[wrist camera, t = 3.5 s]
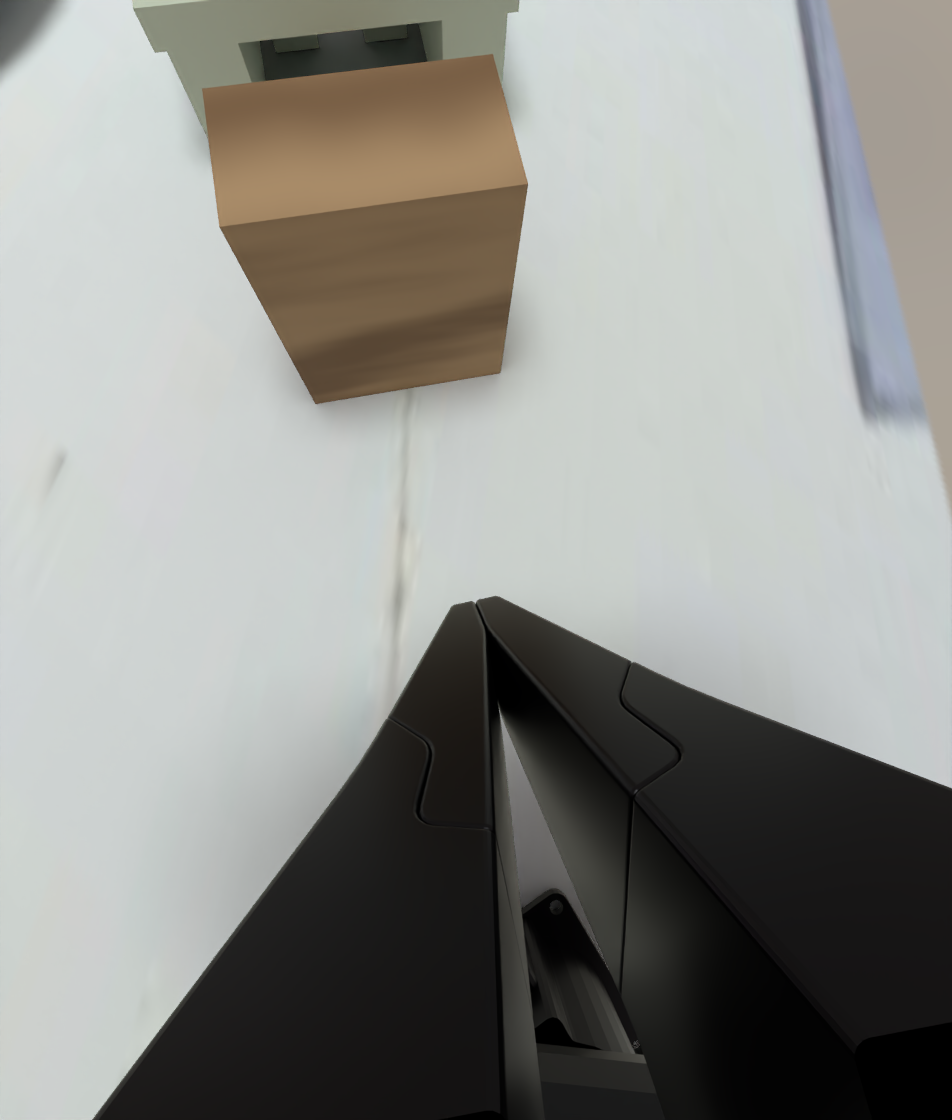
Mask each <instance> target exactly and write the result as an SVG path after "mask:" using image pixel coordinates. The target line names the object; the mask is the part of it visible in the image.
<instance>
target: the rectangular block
mask: <svg viewBox="0 0 952 1120" xmlns="http://www.w3.org/2000/svg"><path fill="white" fill-rule="evenodd" d="M202 92H203V100H204V108H205V116H206V124H207V132H208V140H209V148H210V156H211V164H212V171H213V179H214V187H215V195H216V203H217V211H218V219H219V227H220V229H221V231H222V232H223V234H224V236H225V238H226V240H227V242H228V243H229V245H230V247H231V249H232V251H233V253H234V255H235V256H236V258H237V260H238V262H239V264H240V266H241V267H242V269H243V271H244V273H245V275H246V277H247V278H248V280H249V282H250V284H251V286H252V288H253V290H254V291H255V293H256V295H257V297H258V299H259V301H260V302H261V304H262V306H263V308H264V310H265V312H266V313H267V315H268V317H269V319H270V321H271V323H272V325H273V326H274V328H275V330H276V332H277V334H278V336H279V337H280V339H281V341H282V343H283V345H284V347H285V349H286V350H287V352H288V354H289V356H290V358H291V360H292V361H293V363H294V365H295V367H296V369H297V371H298V372H299V374H300V376H301V378H302V380H303V382H304V384H305V385H306V387H307V389H308V391H309V393H310V395H311V396H312V398H313V400H314V402H315V404H318V403H324V402H330V401H336V400H342V399H348V398H354V397H360V396H366V395H372V394H378V393H384V392H390V391H396V390H402V389H408V388H414V387H420V386H426V385H432V384H438V383H444V382H450V381H456V380H462V379H468V378H474V377H480V376H486V375H492V374H498V373H500V371H501V365H502V358H503V351H504V344H505V337H506V330H507V324H508V317H509V310H510V303H511V296H512V289H513V283H514V276H515V269H516V262H517V255H518V249H519V242H520V235H521V228H522V221H523V214H524V208H525V201H526V194H527V187H528V182H527V178H526V175H525V171H524V167H523V164H522V160H521V156H520V153H519V149H518V145H517V141H516V138H515V134H514V130H513V127H512V123H511V119H510V115H509V112H508V108H507V104H506V101H505V97H504V93H503V90H502V86H501V82H500V78H499V75H498V71H497V67H496V64H495V60H494V56H493V54H488V55H480V56H471V57H463V58H455V59H446V60H438V61H429V62H421V63H413V64H404V65H396V66H387V67H379V68H371V69H362V70H354V71H345V72H337V73H329V74H320V75H312V76H303V77H295V78H287V79H278V80H270V81H261V82H253V83H245V84H236V85H228V86H219V87H211V88H203V89H202Z"/></svg>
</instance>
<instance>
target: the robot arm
mask: <svg viewBox="0 0 952 1120" xmlns="http://www.w3.org/2000/svg"><path fill="white" fill-rule="evenodd" d="M498 706H499V707H498ZM499 710H500V713H501V716H502V718H503V721H504V724H505V726H506V728H507V731H508V733H509V735H510V738H511V740H512V742H513V745H514V747H515V750H516V752H517V754H518V757H519V759H520V761H521V764H522V766H523V768H524V771H525V773H526V775H527V778H528V780H529V782H530V785H531V787H532V789H533V792H534V794H535V797H536V799H537V801H538V804H539V806H540V808H541V811H542V813H543V815H544V818H545V820H546V822H547V825H548V827H549V829H550V832H551V834H552V836H553V839H554V841H555V844H556V846H557V848H558V851H559V853H560V855H561V858H562V860H563V862H564V865H565V867H566V869H567V872H568V874H569V876H570V879H571V881H572V883H573V886H574V888H575V890H576V893H577V895H578V898H579V900H580V902H581V905H582V907H583V909H584V912H585V914H586V916H587V919H588V921H589V923H590V926H591V928H592V930H593V933H594V935H595V937H596V940H597V942H598V945H599V947H600V949H601V952H602V954H603V956H604V959H605V961H606V963H607V966H608V967H607V966H606V964H605V962H604V961H603V959H602V957H601V955H600V954H599V952H598V950H597V949H596V947H595V945H594V944H593V942H592V940H591V938H590V937H589V935H588V933H587V932H586V930H585V928H584V927H583V925H582V923H581V921H580V920H579V918H578V916H577V915H576V913H575V911H574V910H573V908H572V906H571V904H570V903H569V901H568V899H567V898H566V896H565V894H564V893H563V892H562V891H560V890H558V889H550V890H548V891H547V892H545V893H544V894H542V895H541V896H540V897H538V898H537V899H535V900H534V901H533V902H531V903H530V904H528V905H527V906H526V907H524V908H523V909H521V901H520V892H519V883H518V874H517V865H516V856H515V846H514V837H513V828H512V819H511V810H510V800H509V791H508V782H507V773H506V764H505V754H504V745H503V736H502V727H501V720H500V713H499ZM554 900H558V901H560V902H561V906H560V907H559V909H557V910H552V909H551V908H550V904H551V903H552V901H554ZM608 968H609V969H608ZM609 970H610V971H609ZM637 1040H638V1041H639V1044H640V1046H639V1047H638V1048H636V1049H635V1048H632V1044H633V1043H634V1041H637ZM92 1120H952V788H949V787H947V786H944V785H941V784H939V783H936V782H933V781H931V780H928V779H926V778H923V777H920V776H918V775H915V774H913V773H910V772H907V771H905V770H902V769H899V768H897V767H894V766H892V765H889V764H886V763H884V762H881V761H879V760H876V759H873V758H871V757H868V756H865V755H863V754H860V753H858V752H855V751H852V750H850V749H847V748H845V747H842V746H839V745H837V744H834V743H831V742H829V741H826V740H824V739H821V738H818V737H816V736H813V735H810V734H808V733H805V732H803V731H800V730H797V729H795V728H792V727H790V726H787V725H784V724H782V723H779V722H776V721H774V720H771V719H769V718H766V717H763V716H761V715H758V714H756V713H753V712H750V711H748V710H745V709H742V708H740V707H737V706H735V705H732V704H729V703H727V702H724V701H722V700H719V699H717V698H714V697H712V696H709V695H707V694H704V693H702V692H699V691H697V690H695V689H692V688H690V687H687V686H685V685H683V684H680V683H678V682H676V681H674V680H672V679H669V678H667V677H665V676H663V675H661V674H658V673H656V672H654V671H652V670H650V669H648V668H646V667H644V666H642V665H640V664H638V663H636V662H633V663H631V661H630V660H628V659H626V658H624V657H621V656H619V655H617V654H615V653H613V652H611V651H609V650H607V649H605V648H603V647H601V646H599V645H597V644H595V643H593V642H591V641H589V640H587V639H585V638H583V637H581V636H579V635H576V634H574V633H572V632H570V631H568V630H566V629H564V628H562V627H560V626H558V625H556V624H554V623H552V622H550V621H548V620H546V619H544V618H542V617H540V616H538V615H536V614H534V613H532V612H529V611H527V610H525V609H523V608H521V607H519V606H517V605H515V604H513V603H511V602H509V601H507V600H505V599H503V598H501V597H498V596H493V597H488V598H484V599H479V600H478V601H477V602H476V604H475V603H474V602H472V601H470V602H465V603H461V604H456V605H453V606H452V607H451V608H450V610H449V612H448V613H447V615H446V617H445V619H444V620H443V622H442V624H441V626H440V627H439V629H438V631H437V633H436V634H435V636H434V638H433V640H432V641H431V643H430V645H429V647H428V648H427V650H426V652H425V653H424V655H423V657H422V659H421V660H420V662H419V664H418V666H417V667H416V669H415V671H414V673H413V674H412V676H411V678H410V680H409V681H408V683H407V685H406V687H405V688H404V690H403V692H402V693H401V695H400V697H399V699H398V700H397V702H396V704H395V706H394V707H393V709H392V711H391V713H390V714H389V716H388V719H386V720H385V722H384V723H383V725H382V727H381V728H380V730H379V732H378V734H377V735H376V737H375V739H374V740H373V742H372V743H371V745H370V747H369V748H368V750H367V751H366V753H365V755H364V756H363V758H362V759H361V761H360V763H359V764H358V766H357V767H356V768H355V770H354V771H353V773H352V774H351V775H350V777H349V778H348V780H347V781H346V782H345V784H344V785H343V787H342V788H341V789H340V791H339V792H338V794H337V795H336V796H335V798H334V799H333V800H332V802H331V803H330V804H329V806H328V807H327V808H326V810H325V811H324V812H323V814H322V815H321V816H320V818H319V819H318V820H317V822H316V823H315V824H314V826H313V827H312V828H311V830H310V831H309V832H308V834H307V835H306V836H305V838H304V839H303V840H302V842H301V843H300V844H299V846H298V847H297V848H296V850H295V851H294V852H293V854H292V855H291V856H290V858H289V859H288V860H287V862H286V863H285V864H284V866H283V867H282V868H281V870H280V871H279V872H278V874H277V875H276V876H275V878H274V879H273V880H272V882H271V883H270V884H269V885H268V887H267V888H266V889H265V891H264V892H263V893H262V895H261V896H260V897H259V899H258V900H257V901H256V903H255V904H254V905H253V907H252V908H251V909H250V911H249V912H248V913H247V915H246V916H245V917H244V919H243V920H242V921H241V923H240V924H239V925H238V927H237V928H236V929H235V931H234V932H233V933H232V935H231V936H230V937H229V939H228V940H227V941H226V943H225V944H224V945H223V947H222V948H221V949H220V951H219V952H218V953H217V955H216V956H215V957H214V959H213V960H212V961H211V963H210V964H209V965H208V967H207V968H206V969H205V971H204V972H203V973H202V975H201V976H200V977H199V979H198V980H197V981H196V983H195V984H194V985H193V986H192V988H191V989H190V990H189V992H188V993H187V994H186V996H185V997H184V998H183V1000H182V1001H181V1002H180V1004H179V1005H178V1006H177V1008H176V1009H175V1010H174V1012H173V1013H172V1014H171V1016H170V1017H169V1018H168V1020H167V1021H166V1022H165V1024H164V1025H163V1026H162V1028H161V1029H160V1030H159V1032H158V1033H157V1034H156V1036H155V1037H154V1038H153V1040H152V1041H151V1042H150V1044H149V1045H148V1046H147V1048H146V1049H145V1050H144V1052H143V1053H142V1054H141V1056H140V1057H139V1058H138V1060H137V1061H136V1062H135V1064H134V1065H133V1066H132V1068H131V1069H130V1070H129V1072H128V1073H127V1074H126V1076H125V1077H124V1078H123V1080H122V1081H121V1082H120V1084H119V1085H118V1086H117V1088H116V1089H115V1090H114V1091H113V1093H112V1094H111V1095H110V1097H109V1098H108V1099H107V1101H106V1102H105V1103H104V1105H103V1106H102V1107H101V1109H100V1110H99V1111H98V1113H97V1114H96V1115H95V1117H94V1118H93V1119H92Z"/></svg>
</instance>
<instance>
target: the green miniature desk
mask: <svg viewBox="0 0 952 1120" xmlns="http://www.w3.org/2000/svg"><path fill="white" fill-rule="evenodd" d="M132 2H133V9H134V11H135V13H136V15H137V17H138V19H139V21H140V23H141V25H142V27H143V29H144V31H145V34H146V36H147V38H148V40H149V42H150V44H151V46H152V48H153V50H154V52H155V53H156V52H165V51H167V53H168V55H169V57H170V59H171V61H172V63H173V65H174V67H175V70H176V72H177V74H178V76H179V78H180V80H181V82H182V84H183V86H184V89H185V91H186V93H187V95H188V97H189V99H190V101H191V103H192V106H193V108H194V110H195V112H196V114H197V116H198V118H199V120H200V122H201V125H202V127H203V129H204V131H205V133H206V135H207V137H208V132H207V124H206V116H205V108H204V100H203V92H202V89H203V88H211V87H219V86H228V85H236V84H245V83H253V82H261V81H266V79H265V73H264V66H263V60H262V54H261V47H260V41H262V40H271V39H272V41H273V44H274V47H275V51H276V53H279V52H288V51H297V50H305V49H314V48H319V44H318V38H317V34H324V33H333V32H342V31H351V30H360V29H363V33H364V38H365V43H366V42H375V41H384V40H392V39H401V38H407V25H406V24H413V23H418V24H419V28H420V32H421V37H422V41H423V45H424V49H425V53H426V58H427V62H429V61H438V60H446V59H455V58H463V57H471V56H480V55H488V54H493V56H494V60H495V64H496V67H497V71H498V75H499V78H500V82H501V86H502V78H503V65H504V52H505V39H506V26H507V13H511V12H518V9H519V0H132Z"/></svg>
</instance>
